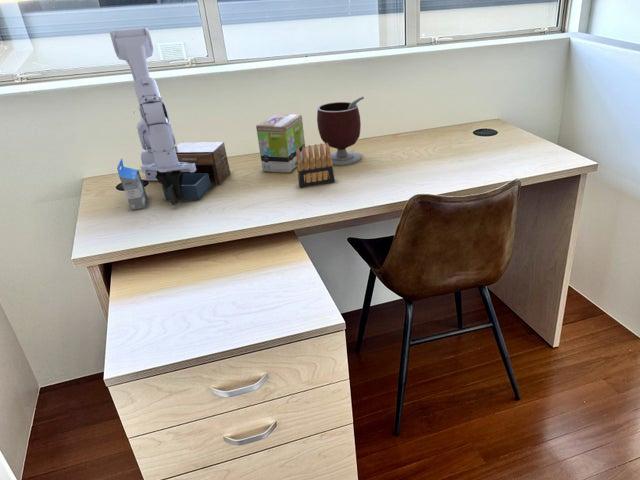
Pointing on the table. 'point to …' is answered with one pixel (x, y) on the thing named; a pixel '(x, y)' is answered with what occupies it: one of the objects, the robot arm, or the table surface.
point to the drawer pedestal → (205, 158)
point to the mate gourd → (340, 129)
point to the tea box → (280, 142)
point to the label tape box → (132, 186)
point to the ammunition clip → (315, 167)
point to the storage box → (189, 188)
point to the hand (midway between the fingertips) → (176, 196)
